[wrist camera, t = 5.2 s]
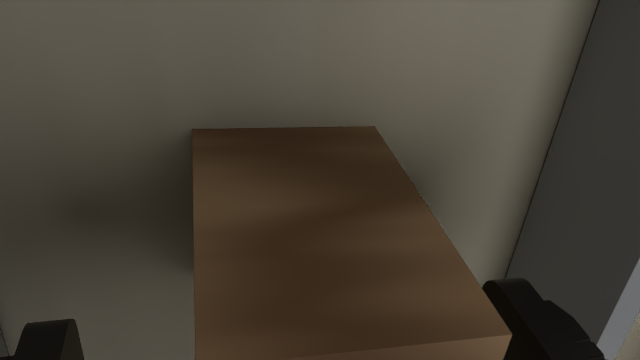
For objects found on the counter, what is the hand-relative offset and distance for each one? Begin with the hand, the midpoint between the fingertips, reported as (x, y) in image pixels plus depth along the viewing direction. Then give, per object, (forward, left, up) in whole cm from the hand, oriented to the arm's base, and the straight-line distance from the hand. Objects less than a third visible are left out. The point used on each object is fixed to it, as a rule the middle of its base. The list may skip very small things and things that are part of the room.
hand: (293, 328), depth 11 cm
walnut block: (0, 0, -4) cm, 4 cm away
